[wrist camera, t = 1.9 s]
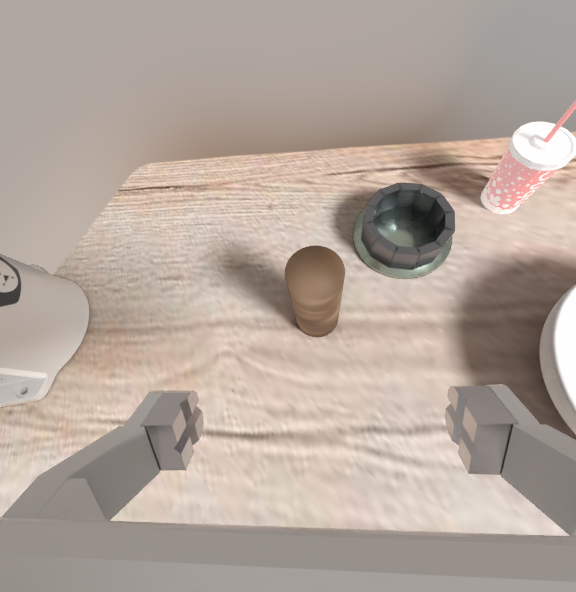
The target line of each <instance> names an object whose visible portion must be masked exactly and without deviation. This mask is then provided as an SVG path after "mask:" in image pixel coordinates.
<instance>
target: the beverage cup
mask: <svg viewBox="0 0 576 592" xmlns="http://www.w3.org/2000/svg"><path fill="white" fill-rule="evenodd" d="M575 108H576V100H575V101H574V102H573V104H572V105H571V106H570V107H569V108H568V110H567V111H566V112H565V114H564V115H563V116H562V117H561V119H560V120H559V121H558V123H557V124H553V123H548V122H531V123H528V124H525V125H522V126H521V127H520V128H519V129H517V130H516V131H515V132H514V134H513V137H512V138H511V140H510V143H509V147H508V149H507V151H506V152H505V154H504V156H503V157H502V159H501V161H500V163H499V164H498V166H497V168H496V169H495V171H494V173H493V174H492V176H491V178H490V180H489V181H488V183H487V185H486V186H485V188H484V190H483V192H482V194H481V202H482V204H483V205H484V206H485V208H487V209H488V210H490V211H491V212H494V213H497V214H508V213H511V212H513V211H514V210H515V209H516V208H517V207H518V206H520V205H521V204H522V203H523V202H524V201H525V200H526V199H527V198H528V197H529V196H530V195H531V194H532V193H533V192H534V191H535V190H536V189H537V188H538V187H539V186H540V185H541V184H543V183H544V182H545V181H546V180H547V179H548V178H549V177H550V176H551V175H552V174H553V173H554V172H555V171H556V170H557V169H559V168H561V167H564V166H565V165H566V164H567V163H568V162H569V161H570V160H571V159H572V158H573V157H574V156H575V155H576V139H575V137H574V136H573V135H572V134H571V133H570V132H569V131H568V130H567V129H565V128H563V127H561V126H562V124H563V123H564V122H565V121H566V119H567V118H568V117H569V116H570V115H571V113H572V112H573V111H574V109H575Z"/></svg>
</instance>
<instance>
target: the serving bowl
mask: <svg viewBox="0 0 576 592" xmlns="http://www.w3.org/2000/svg"><path fill="white" fill-rule="evenodd" d="M539 350H540V365H541V371H542V375H543V379H544V382H545V385H546V388H547V390H548V393H549V395H550V397H551V399H552V401H553V403H554V405H555V407H556V408H557V410H558V412H559V413H560V415H561V416H562V418H563V419H564V421H565V422H566V424H567V425H568V426H569V427H570V429H571V430H572V431H573V432H574V434H575V435H576V284H574V285H573V286H572V287H571V288H570V289H569V290H568V291H567V292H566V293H565V294H564V295H563V296H562V297H561V298H560V299H559V300H558V302H557V303H556V304H555V305H554V307H553V308H552V310H551V312H550V313H549V315H548V317H547V319H546V322H545V324H544V327H543V330H542V334H541V339H540V348H539Z"/></svg>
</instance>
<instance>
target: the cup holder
mask: <svg viewBox="0 0 576 592" xmlns="http://www.w3.org/2000/svg"><path fill="white" fill-rule="evenodd" d="M454 231H455V211H454V210H453V208H452V207H451V206H450V204H449V203H448V202H447V200H446V199H445V197H444V196H443V195H442V194H441V193H439V192H437V191H435V190H433V189H431V188H429V187H427V186H425V185H423V184H414V183H396V184H394V185H391V186H388V187H385V188H383V189H380V190H378V192H377V193H376V194H375V195H374V196H373V197H372V198H371V200H370V201H369V202H368V203H367V204H366V208H365V209H364V210H363V211H362V212H361V214H360V215H359V217H358V218H357V220H356V223H355V227H354V232H353V239H354V245H355V248H356V250H357V253H358V254H359V256H360V257H361V259H362V260H363V261H364V262H365V263H366V264H367V265H368V266H369V267H370V268H372V269H373V270H375V271H377V272H378V273H380V274H383V275H385V276H389V277H392V278H398V279H412V278H418V277H421V276H424V275H427V274H429V273H431V272H432V271H434V270H436V269H437V268H438V267H439V266H440V265H441V264H442V263H443V262H444V260H445V259H446V257H447V256H448V254H449V252H450V250H451V246H452V234H453V233H454Z"/></svg>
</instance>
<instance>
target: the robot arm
mask: <svg viewBox="0 0 576 592" xmlns="http://www.w3.org/2000/svg"><path fill="white" fill-rule="evenodd" d="M88 322H89V304H88V300H87V297H86V295H85V293H84V292H83V290H82V289H81V288H80V287H79V286H78V285H77V284H76V283H74V282H72V281H70V280H68V279H65V278H61V277H57V276H54V275H51V274H49V273H48V272H47V271H46V270H45V269H43V268H41V267H39V266H37V265H26V264H23V263H21V262H18V261H16V260H13V259H11V258H9V257H6V256H4V255H1V254H0V407H5V406H10V405H16V404H22V403H27V402H33V401H37V400H40V399H42V398H43V397H44V396H45V395H46V394H47V392H48V391H49V389H50V387H51V385H52V383H53V381H54V379H55V377H56V375H57V373H58V372H59V370H60V369H61V368H62V367H63V366H64V365H65V364H66V363H67V362H68V360H69V359H70V358H71V357H72V356H73V355H74V353H75V352H76V350H77V349H78V347H79V346H80V344H81V342H82V340H83V338H84V336H85V333H86V330H87V327H88ZM26 390H27V392H26ZM447 397H448V399H449V400H450V402H451V404H450V405H449V406H448V407H447V408H446V414H445V419H446V426H447V430H448V433H449V435H450V437H451V439H452V441H454V442H455V443H456V444H458V445H459V451H458V454H459V456H460V458H461V460H462V462H463V464H464V466H465V468H466V470H467V472H468V473H469V474H494V475H501V477H502V478H504V479H505V480H506V481H507V482H508V483H509V484H511V485H512V486H513V487H514V488H515V489H516V490H518V491H519V492H520V493H521V494H522V495H523V496H525V497H526V498H527V499H528V500H529V501H530V502H532V503H533V504H534V505H535V506H536V507H537V508H538V509H540V510H541V511H542V512H543V513H544V514H545V515H547V516H548V517H549V518H550V519H551V520H552V521H554V522H555V523H556V524H557V525H558V526H559V527H561V528H562V529H563V530H564V531H565V532H566V533H568V534H569V535H570V536H544V535H514V534H485V533H455V532H424V531H394V530H363V529H333V528H304V527H274V526H244V525H214V524H184V523H154V522H124V521H110V520H111V519H112V518H113V517H114V516H115V515H116V514H117V513H118V512H119V511H120V510H121V509H122V508H123V507H124V506H125V505H126V504H127V503H128V502H129V501H130V500H131V499H133V498H134V497H135V496H136V495H137V494H138V493H139V492H140V491H141V490H142V489H143V488H144V487H145V486H146V485H147V484H148V483H149V482H150V481H151V480H152V479H153V478H154V477H155V476H156V475H157V474H158V473H160V470H186V469H187V466H188V464H189V462H190V459H191V457H192V455H193V453H194V450H193V447H192V445H194V444H195V443H196V442H197V441H198V440H199V439H200V436H201V434H202V429H203V414H202V411H201V410H200V409H199V408H198V407H197V406H196V405H197V403H198V401H199V399H198V395H197V392H195V391H151V392H149V393H148V394H147V396H146V397H145V399H144V400H143V401H142V403H141V404H140V405H139V407H138V408H137V409H136V411H135V412H134V413H133V415H132V416H131V417H130V419H129V420H128V421H127V423H126V424H125V425H124V426H119V427H117V428H116V429H114V430H113V431H111V432H109V433H108V434H106V435H104V436H103V437H101V438H100V439H98V440H96V441H95V442H93V443H92V444H90V445H88V446H87V447H85V448H83V449H82V450H80V451H79V452H77V453H75V454H74V455H72V456H70V457H69V458H67V459H66V460H64V461H62V462H61V463H59V464H57V465H56V466H54V467H53V468H51V469H49V470H48V471H46V472H44V473H43V474H41V475H40V476H38V477H37V478H36V479H35V480H34V482H33V483H32V484H31V485H30V486H29V487H28V488H27V489H26V490H25V492H24V493H23V494H22V495H21V496H20V497H19V498H18V499H17V500H16V502H15V503H14V504H13V505H12V506H11V507H10V508H9V509H8V510H7V512H6V513H5V514H4V515H3V516H2V517H0V592H576V440H575V439H573V438H571V437H570V436H568V435H566V434H564V433H562V432H560V431H558V430H556V429H554V428H552V427H551V426H549V425H547V424H540V423H539V422H538V421H537V420H536V419H535V417H534V416H533V415H532V414H531V413H530V412H529V410H528V409H527V408H526V407H525V406H524V405H523V404H522V402H521V401H520V400H519V399H518V398H517V397H516V396H515V394H514V393H513V392H512V391H511V390H510V389H509V388H508V386H506V385H504V384H493V385H475V386H450V388H449V390H448V396H447Z"/></svg>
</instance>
